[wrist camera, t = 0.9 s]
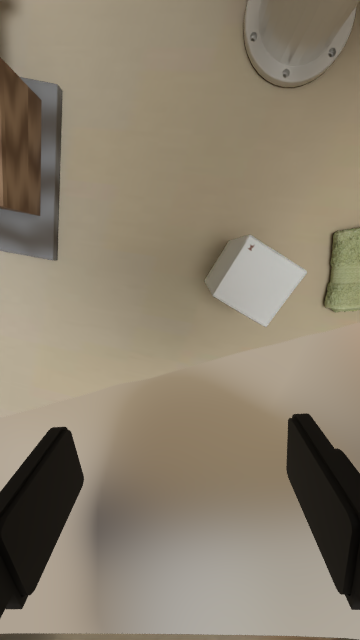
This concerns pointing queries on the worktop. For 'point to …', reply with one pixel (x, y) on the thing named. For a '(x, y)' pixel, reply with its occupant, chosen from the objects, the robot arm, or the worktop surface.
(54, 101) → the bearing block
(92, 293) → the worktop surface
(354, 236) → the washcloth
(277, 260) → the supplement box
